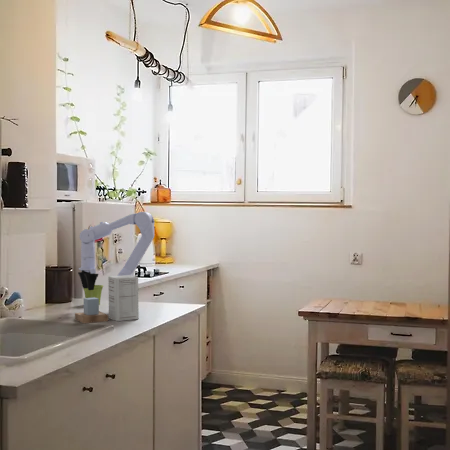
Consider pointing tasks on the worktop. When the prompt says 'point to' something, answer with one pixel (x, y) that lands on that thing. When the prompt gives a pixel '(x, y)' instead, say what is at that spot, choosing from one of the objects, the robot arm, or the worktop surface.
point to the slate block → (91, 306)
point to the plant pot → (94, 292)
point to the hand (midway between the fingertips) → (88, 289)
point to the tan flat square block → (91, 317)
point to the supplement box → (123, 297)
